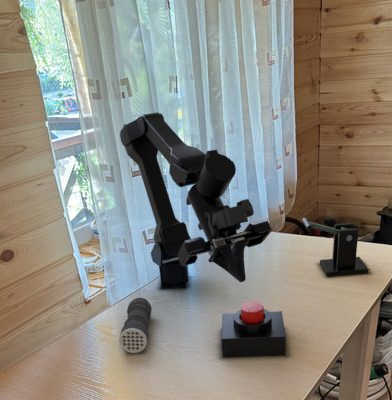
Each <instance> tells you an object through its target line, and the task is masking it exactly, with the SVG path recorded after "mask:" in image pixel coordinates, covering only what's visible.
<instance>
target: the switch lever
mask: <svg viewBox="0 0 392 400" xmlns="http://www.w3.org/2000/svg"><path fill="white" fill-rule="evenodd" d="M301 221H302V223H303V224H304V226H305V228H306V229H307V231H311V230H313V229H315V230H320V231H323V232H327V233H331V234H333V235H334V234H337V235H338V234H339V229H335V228H334V227H332V226H328V225H323V224H320V223H318V222H312V221H309V219H308V218H307V217H303V218H302V219H301ZM343 229H349V228H345V227H341V229H340V230H343Z"/></svg>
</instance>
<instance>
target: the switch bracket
mask: <svg viewBox="0 0 392 400" xmlns="http://www.w3.org/2000/svg"><path fill="white" fill-rule="evenodd" d="M333 226H334V227H333V228H335V229H339V234H338V235H337V234H334V233H333V244H332V245H333V246H332V257H331V258H327V259H325V258H324V259H319V266H320V268H321V269H322V271H323V273H324V275H325V276H326V277H327V278H330V277H342V276H353V275H364V274H367V275H368V274H369V267H368V266H367V264H365V262H364V261H363V260H362V258H361V257H360V256H357V251H358V241H359V229H358V227H355V228H354V226H355V224H354V223H353V222H347V223H346V222H345V223H335V224H334V225H333ZM341 227H345V228H349V229H343V230H340V229H341Z"/></svg>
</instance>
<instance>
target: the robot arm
mask: <svg viewBox="0 0 392 400" xmlns="http://www.w3.org/2000/svg"><path fill="white" fill-rule="evenodd" d="M119 138H120V139H119V140H120V142H121V144H122V146H123V147H124V150H125V153H126V155H127V156H128V157H129V159H131V160H132V161H133V162H135V163H136V165H137V166H138V169H139V172H140V176H141V180H142V182H143V185H144V189H145V192H146V196H147V198H148V201H149V204H150V208H151V211H152V214H153V217H154V221H155V224H156V225H155V230H154V233H153V240H154V241H153V242H154V244H153V247H152V249H151V252H150V256H151V260H152V262H153V263H154V264H156V266H158V270H159V277H160V285H159V288H160V289H180V288H181V289H182V288H186V287H187V284H188V283H189V282H190V281H189V280H190V273H189V266H190V265H194V264H196V262H197V260H198V258H199V257H198V255H202V254H205V253H208V255H209V258H208V259H207V260H208V263H210V264H211V263H214V264H216V266H218V267H220V268H221V269H223V270H224V271H225V272H227V273H228V274H229V275H230V276H232V277H233V278H234V279H235V280H236V281H238V282H239V283H243V282H245V281H246V279H247V277H246V268H245V248H246V247H247V248H251V247H255V246H258V245H261V244H262V243H263V242H265V240H266V239H267V238H268V236H269V235H270V234H271V233H272V231H273V228H272V226H271V224H270V222H269V221H268V220H267V219H261V220H257V221H252V222H249V219H248V218H250V217H252V216H254V214H255V210H254V207H253V205H252V203H251V201H250V200H249V198H246V199H242V200H241V199H240V201H238V202H236V206H231V207H230V206H229V205H228V204H226V205H224V202H223V200H222V198H221V197H223V195H224V194H225V193H226V191H227V189H228V187H229V185H230V184H231V182H232V180H233V178H234V177H235V175H236V173H237V168H236V164H235V161H233V160H232V159H231V158H229V157H228V156H226V155H224V154H222V153H219V151H218V149H217V148H215V149H209V150H206V152H203V151H202V150H201V149H199V148H198V147H196V146H192V145H187V144H186V143H185V142H184V141H183V140H182V138H181V137H180V136H179V135H178V134H177V133H176V132H175V130H174V129H173V128H172V127H171V126H170V125H169V123H167V122H166V120H165V118H164V115H163V113H161V112H158V111H157V112H151V113H145V114H144V113H143V114H141V115H139V116H138V117H136V119H134V120H132V121H130V122H129V123H124V124H123V125H122V128H121V130H120V131H119ZM159 153H160V155H162V156H163V158H164V159H165V160H166V162H167V163H168V165H169V169H168V173H169V176H170V177H171V179H172V181H173V182H174V184H175V185H176V186H177V187H179V188H185V187H189V186H191V187H190V188H189V190H188V191H187V197H186V200H185V202H186V206H191V208H192V209H193V211H194V214H195V215H196V218H197V220H198V223H197V228H198V230H199V231H203V233H204V235H205V237H206V240H205V238H204V237H202V236H198V237H194V238H192V237H191V235H190V234H189V231H188V228H187V227H188V226H187V224H186V223H185V222H184V221H180V220H178V219H177V217H176V215H175V212H174V208H173V205H172V202H171V197H170V195H169V192H168V189H167V186H166V183H165V179H164V176H163V173H162V169H161V165H160V163H159V159H158V155H159ZM248 222H249V223H248ZM242 223H248V224H247V226H246V227H245V229H244V230H243V231H239V232H237V231H238V230H241V227H242V225H241V224H242Z"/></svg>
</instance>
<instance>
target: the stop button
mask: <svg viewBox="0 0 392 400" xmlns="http://www.w3.org/2000/svg"><path fill="white" fill-rule="evenodd" d="M264 309H265V306H264V304H263V303H261V302H259V301H247V302H244V303H243V304H241V305H240V310H241V320H242V321H243V322H247V323H257V322H260V321H262V320H263V319H264Z"/></svg>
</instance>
